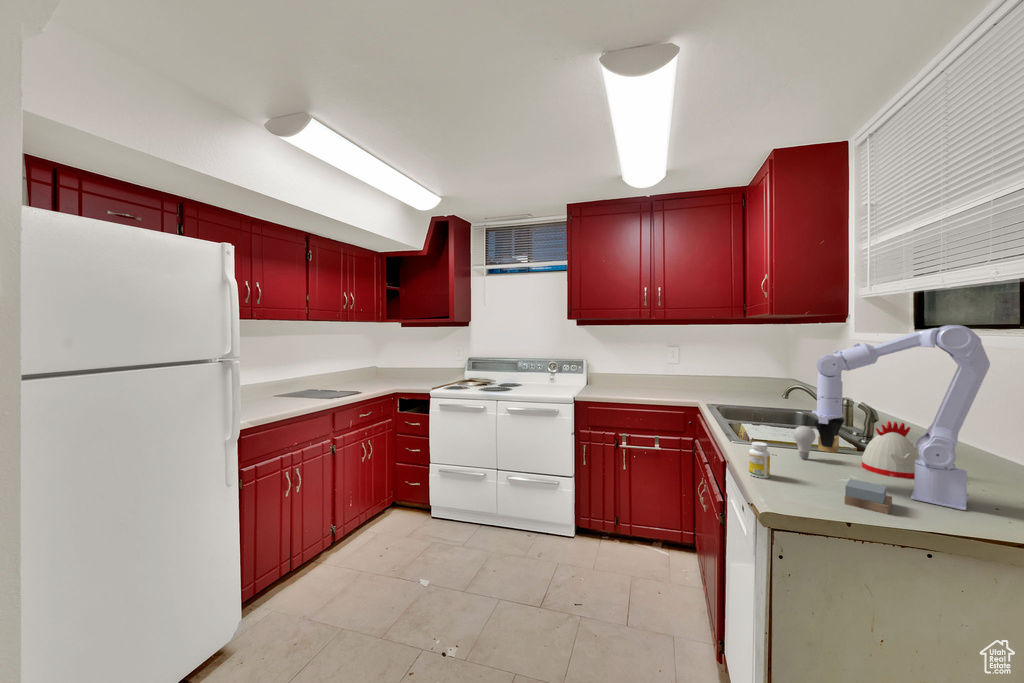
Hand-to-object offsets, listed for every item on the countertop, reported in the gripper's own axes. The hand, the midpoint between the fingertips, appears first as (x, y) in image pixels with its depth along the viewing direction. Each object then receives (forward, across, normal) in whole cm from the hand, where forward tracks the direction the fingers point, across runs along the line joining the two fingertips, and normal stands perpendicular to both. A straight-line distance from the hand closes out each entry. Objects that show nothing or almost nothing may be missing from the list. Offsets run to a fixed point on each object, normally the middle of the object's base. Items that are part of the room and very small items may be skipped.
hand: (829, 444), depth 118 cm
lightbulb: (+11, -18, -10) cm, 23 cm away
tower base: (+11, +12, +10) cm, 19 cm away
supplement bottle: (+11, +9, -15) cm, 20 cm away
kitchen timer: (+11, -24, +11) cm, 28 cm away
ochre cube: (+2, 0, 0) cm, 2 cm away
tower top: (+8, +12, +10) cm, 18 cm away
